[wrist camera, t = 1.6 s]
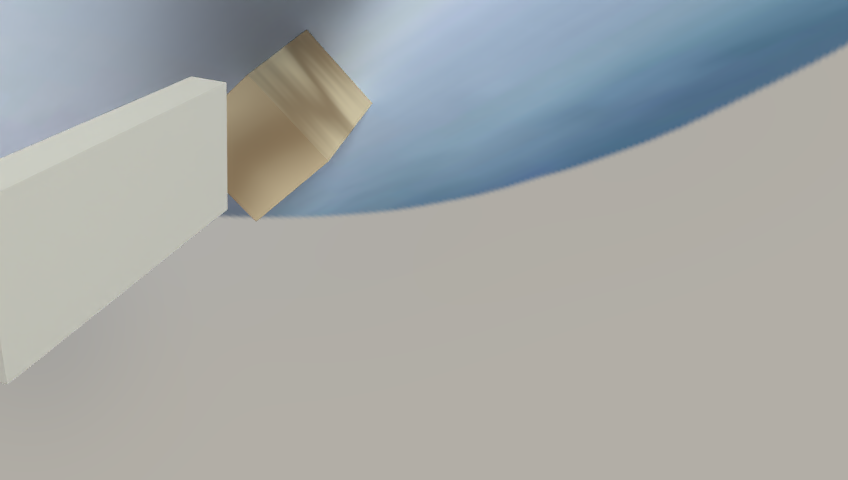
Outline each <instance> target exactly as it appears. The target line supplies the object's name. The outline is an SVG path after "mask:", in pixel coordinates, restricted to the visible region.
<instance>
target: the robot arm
mask: <svg viewBox="0 0 848 480" xmlns="http://www.w3.org/2000/svg"><path fill="white" fill-rule="evenodd" d="M226 210H228V204H227V89H226V82H221V81H216V80H210V79H204V78H198V77H192V76H191V77H188V78H186V79H184V80H181V81H179V82H177V83H174V84H172V85H170V86H167V87H165V88H163V89H160V90H158V91H156V92H154V93H151V94H149V95H147V96H144V97H142V98H140V99H137V100H135V101H133V102H130V103H128V104H126V105H123V106H121V107H119V108H116V109H114V110H112V111H109V112H107V113H105V114H102V115H100V116H98V117H95V118H93V119H91V120H88V121H86V122H84V123H82V124H79V125H77V126H75V127H72V128H70V129H68V130H65V131H63V132H61V133H58V134H56V135H54V136H51V137H49V138H47V139H44V140H42V141H40V142H37V143H35V144H33V145H30V146H28V147H26V148H23V149H21V150H19V151H17V152H14V153H12V154H10V155H7V156H5V157H3V158H0V383H2V384H6V385H8V384H9V383H10V382H12V381H13V380H14V379H15V378H17V377H18V376H19V375H20V374H22V373H23V372H24V371H25V370H27V369H28V368H29V367H30V366H32V365H33V364H34V363H35V362H36V361H38V360H39V359H40V358H42V357H43V356H44V355H45V354H47V353H48V352H49V351H50V350H52V349H53V348H54V347H55V346H57V345H58V344H59V343H60V342H62V341H63V340H64V339H66V338H67V337H68V336H69V335H70V334H72V333H73V332H74V331H76V330H77V329H78V328H79V327H80V326H82V325H83V324H84V323H86V322H87V321H88V320H89V319H90V318H92V317H93V316H94V315H96V314H97V313H98V312H99V311H101V310H102V309H103V308H105V307H106V306H107V305H108V304H110V303H111V302H112V301H113V300H115V299H116V298H117V297H118V296H119V295H121V294H122V293H123V292H125V291H126V290H127V289H128V288H130V287H131V286H132V285H133V284H135V283H136V282H137V281H138V280H140V279H141V278H142V277H143V276H145V275H146V274H147V273H148V272H150V271H151V270H152V269H153V268H155V267H156V266H157V265H159V264H160V263H161V262H162V261H164V260H165V259H166V258H167V257H169V256H170V255H171V254H172V253H174V252H175V251H176V250H177V249H178V248H180V247H181V246H182V245H183V244H185V243H186V242H187V241H189V240H190V239H191V238H192V237H194V236H195V235H196V234H197V233H199V232H200V231H201V230H203V229H204V228H205V227H206V226H207V225H209V224H210V223H211V222H213V221H214V220H215V219H216V218H218V217H219V216H220V215H221V214H223V213H224V212H225V211H226Z"/></svg>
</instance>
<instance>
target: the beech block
mask: <svg viewBox="0 0 848 480" xmlns="http://www.w3.org/2000/svg"><path fill="white" fill-rule="evenodd" d="M371 104H372V102H371V101H370V100H369V99H368V98H367V97H366V96H365V95H364V93H363V92H362V91H361V90H360V89H359V88H358V87H357V86H356V84H355V83H354V82H353V81H352V80H351V79H350V78H349V77H348V76H347V74H346V73H345V72H344V71H343V70H342V69H341V68H340V67H339V65H338V64H337V63H336V62H335V61H334V60H333V59H332V58H331V56H330V55H329V54H328V53H327V52H326V51H325V50H324V49H323V47H322V46H321V45H320V44H319V43H318V42H317V41H316V40H315V39H314V37H313V36H312V35H311V34H310V33H309V32H308V31H307V30H305V31H304V32H303V33H302V34H300V35H299V36H298V37H296V38H295V39H294V40H292V41H291V42H290V43H288V44H287V45H286V46H284V47H283V48H282V49H280V50H279V51H278V52H277V53H275V54H274V55H273V56H271V57H270V58H269V59H267V60H266V61H265V62H263V63H262V64H261V65H259V66H258V67H257V68H256V69H254V70H253V71H252V72H250V73H249V74H248V75H247V76H246V77H245V78H244V79H243V80H241V81H240V82H239V83H238V84H237V85H236V86H235V87H234V88H233V89H232V90H231V91H230V92H229V93H228V94H227V193H228V194H229V195H230V196H231V197H232V198H233V199H234V200H235V201H236V202H237V203H238V204H239V205H240V206H241V207H242V208H243V209H244V210H245V211H246V212H247V213H248V214H249V215H250V216H251V217H252V218H253V219H254V220H255V221H258V220H259V219H260V218H261V217H262V216H264V215H265V214H266V213H267V212H268V211H270V210H271V209H272V208H273V207H274V206H276V205H277V204H278V203H279V202H280V201H282V200H283V199H284V198H285V197H286V196H288V195H289V194H290V193H291V192H292V191H294V190H295V189H296V188H297V187H298V186H299V185H301V184H302V183H303V182H304V181H305V180H307V179H308V178H309V177H310V176H311V175H313V174H314V173H315V172H316V171H317V170H319V169H320V168H321V167H322V166H323V165H325V164H326V163H327V162H328V161H329V160H330V159H331V157H332V156H333V155H334V153H335V152H336V151H337V149H338V148H339V147H340V145H341V144H342V143H343V141H344V140H345V139H346V137H347V136H348V135H349V133H350V132H351V131H352V130H353V128H354V127H355V126H356V124H357V123H358V122H359V120H360V119H361V118H362V116H363V115H364V114H365V112H366V111H367V110H368V108H369V107H370V106H371Z"/></svg>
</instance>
